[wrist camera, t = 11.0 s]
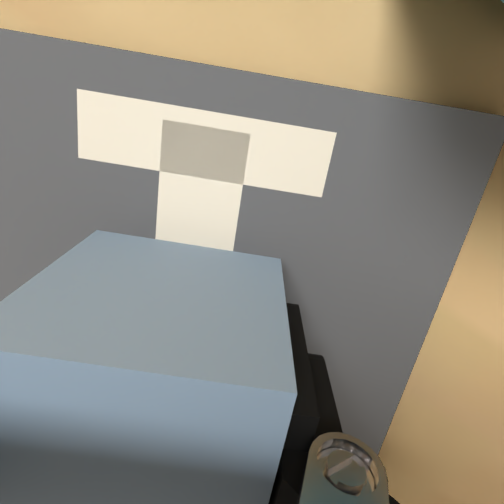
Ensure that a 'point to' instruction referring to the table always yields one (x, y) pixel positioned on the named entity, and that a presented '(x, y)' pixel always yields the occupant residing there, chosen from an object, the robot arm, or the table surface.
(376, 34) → the table surface
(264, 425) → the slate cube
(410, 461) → the table surface
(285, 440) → the robot arm
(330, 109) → the letter mat
